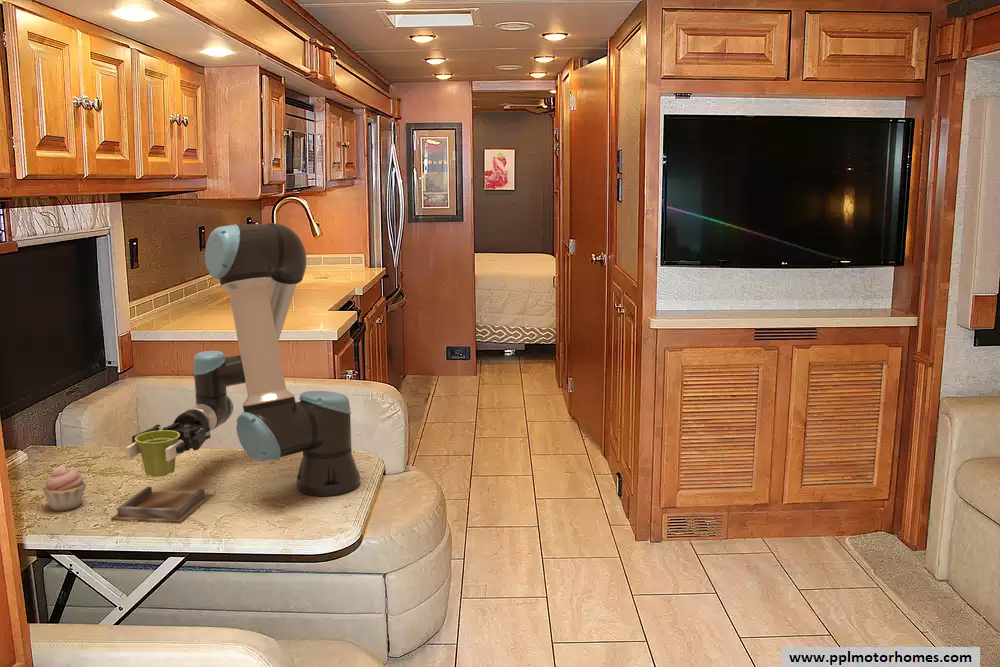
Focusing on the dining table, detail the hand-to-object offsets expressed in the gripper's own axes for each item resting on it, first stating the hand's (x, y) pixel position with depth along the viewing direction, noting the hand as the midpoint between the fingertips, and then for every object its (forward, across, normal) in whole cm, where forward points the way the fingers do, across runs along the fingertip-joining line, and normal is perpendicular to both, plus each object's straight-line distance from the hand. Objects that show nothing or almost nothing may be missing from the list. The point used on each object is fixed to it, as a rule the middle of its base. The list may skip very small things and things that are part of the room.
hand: (147, 454), depth 188 cm
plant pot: (-5, 0, -6) cm, 8 cm away
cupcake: (-3, +22, -15) cm, 27 cm away
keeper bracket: (-4, 0, -14) cm, 15 cm away
